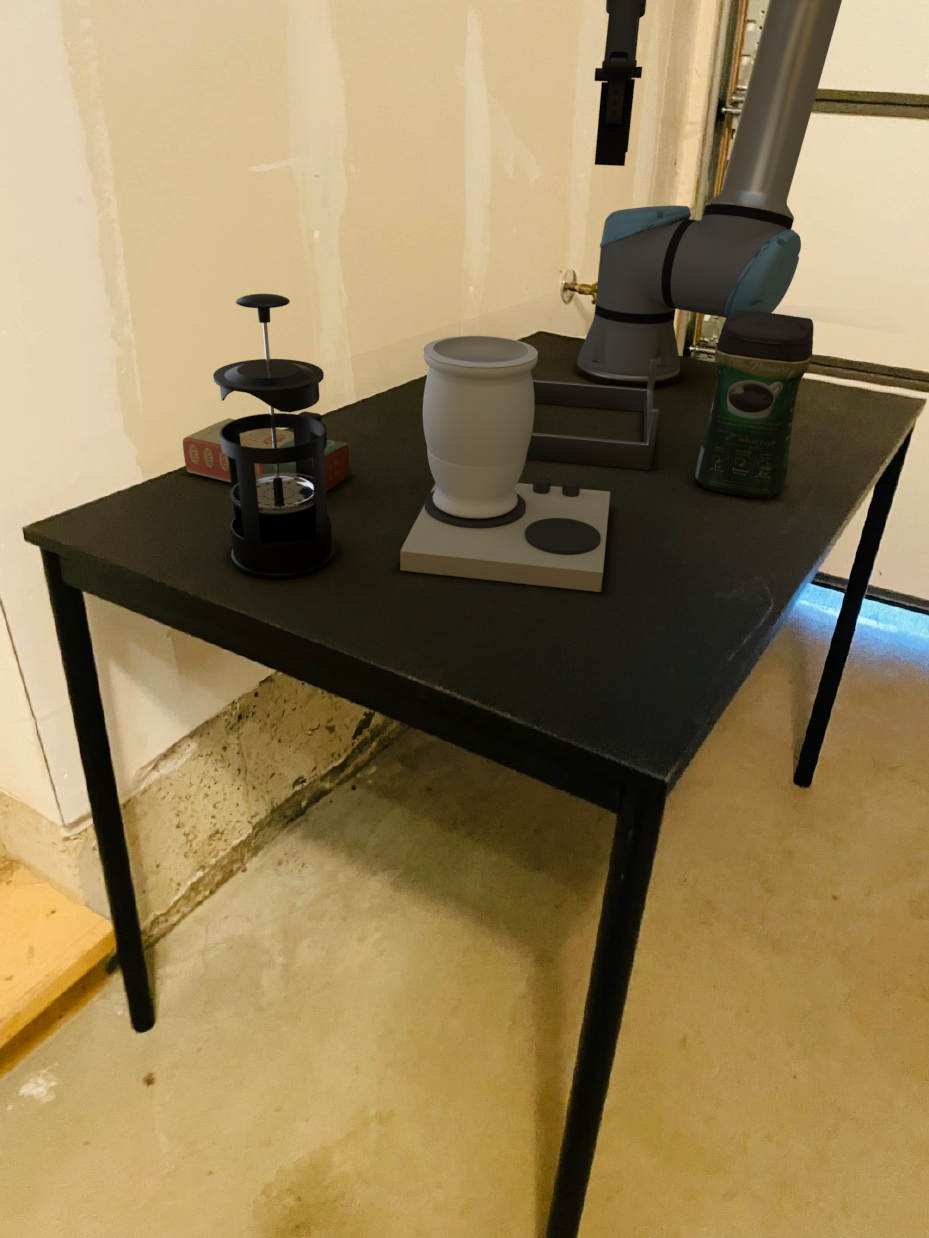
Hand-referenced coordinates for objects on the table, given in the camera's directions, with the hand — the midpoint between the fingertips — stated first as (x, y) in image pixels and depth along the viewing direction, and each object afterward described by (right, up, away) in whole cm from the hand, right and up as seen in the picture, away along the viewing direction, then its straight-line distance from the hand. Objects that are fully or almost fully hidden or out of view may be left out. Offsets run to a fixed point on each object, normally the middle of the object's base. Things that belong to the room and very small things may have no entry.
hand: (612, 158), depth 89 cm
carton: (-36, -30, +11) cm, 48 cm away
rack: (0, -21, +26) cm, 34 cm away
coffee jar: (+16, -30, +13) cm, 36 cm away
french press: (-31, -39, -4) cm, 50 cm away
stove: (-10, -37, 0) cm, 38 cm away
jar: (-13, -34, +1) cm, 36 cm away
